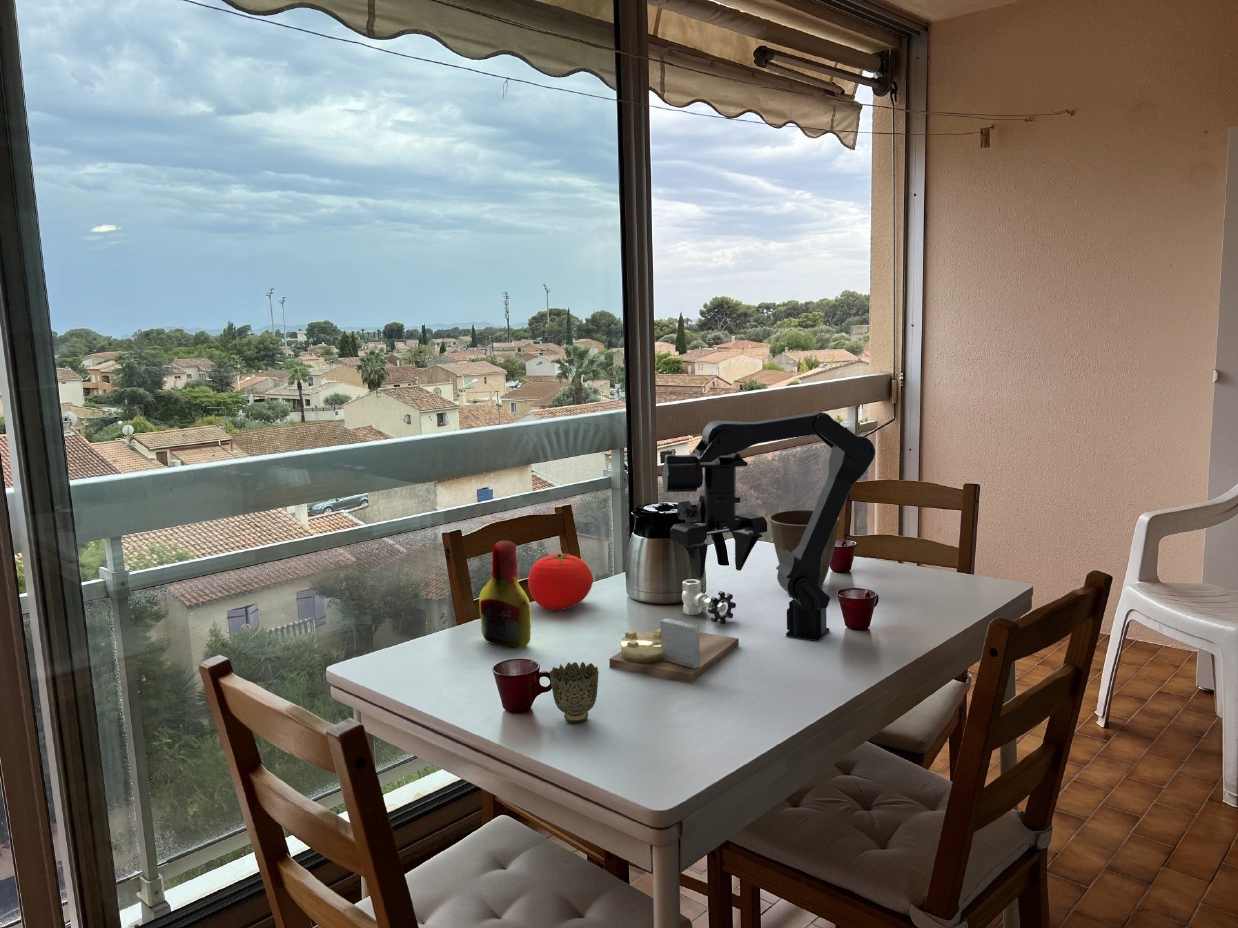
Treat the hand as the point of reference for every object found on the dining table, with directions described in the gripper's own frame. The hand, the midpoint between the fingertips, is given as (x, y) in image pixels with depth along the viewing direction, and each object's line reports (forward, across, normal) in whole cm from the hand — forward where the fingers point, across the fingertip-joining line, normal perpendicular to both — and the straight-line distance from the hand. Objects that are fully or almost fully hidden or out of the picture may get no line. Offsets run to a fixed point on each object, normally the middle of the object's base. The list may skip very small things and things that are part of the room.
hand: (719, 574), depth 167 cm
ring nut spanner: (+12, +16, +4) cm, 20 cm away
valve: (+13, -7, -13) cm, 20 cm away
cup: (+14, +38, +13) cm, 43 cm away
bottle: (+14, +32, -25) cm, 42 cm away
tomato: (+14, +12, -38) cm, 42 cm away
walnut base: (+13, +11, +1) cm, 17 cm away
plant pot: (+12, -36, -14) cm, 41 cm away
